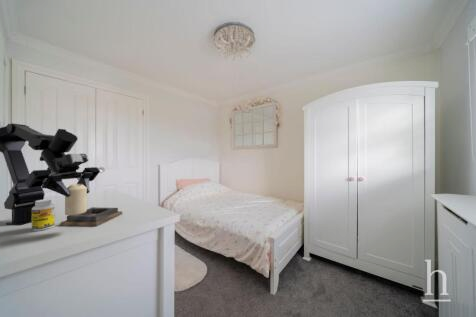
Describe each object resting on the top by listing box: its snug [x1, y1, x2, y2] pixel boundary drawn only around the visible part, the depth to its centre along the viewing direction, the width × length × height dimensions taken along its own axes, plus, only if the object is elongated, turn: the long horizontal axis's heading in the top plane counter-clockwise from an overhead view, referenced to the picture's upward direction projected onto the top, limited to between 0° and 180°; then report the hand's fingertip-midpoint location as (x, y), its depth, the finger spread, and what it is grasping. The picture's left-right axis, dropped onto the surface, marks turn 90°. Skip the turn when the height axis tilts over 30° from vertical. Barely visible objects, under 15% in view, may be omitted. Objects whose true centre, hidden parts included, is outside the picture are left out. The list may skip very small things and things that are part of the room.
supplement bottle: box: [31, 198, 56, 232], centre depth 63 cm, size 6×6×10 cm
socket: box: [60, 207, 123, 227], centre depth 73 cm, size 14×14×3 cm
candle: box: [64, 183, 88, 216], centre depth 61 cm, size 6×6×10 cm
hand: (79, 194), depth 60 cm, fingers closed on candle, 5 cm apart
